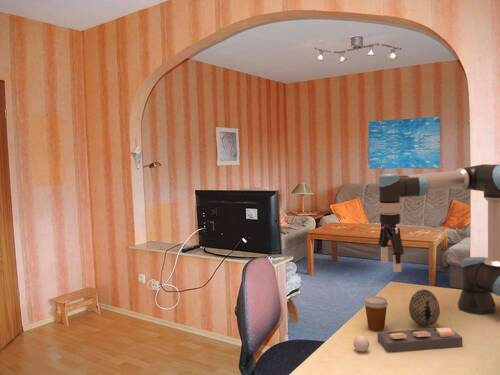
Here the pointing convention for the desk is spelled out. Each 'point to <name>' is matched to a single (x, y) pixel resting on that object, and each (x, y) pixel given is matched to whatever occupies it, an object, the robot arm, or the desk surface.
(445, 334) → the rocker
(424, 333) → the middle rocker
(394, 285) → the desk surface
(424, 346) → the power strip
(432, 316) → the decorative egg
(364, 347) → the white ball
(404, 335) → the rocker
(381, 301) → the disposable coffee cup
